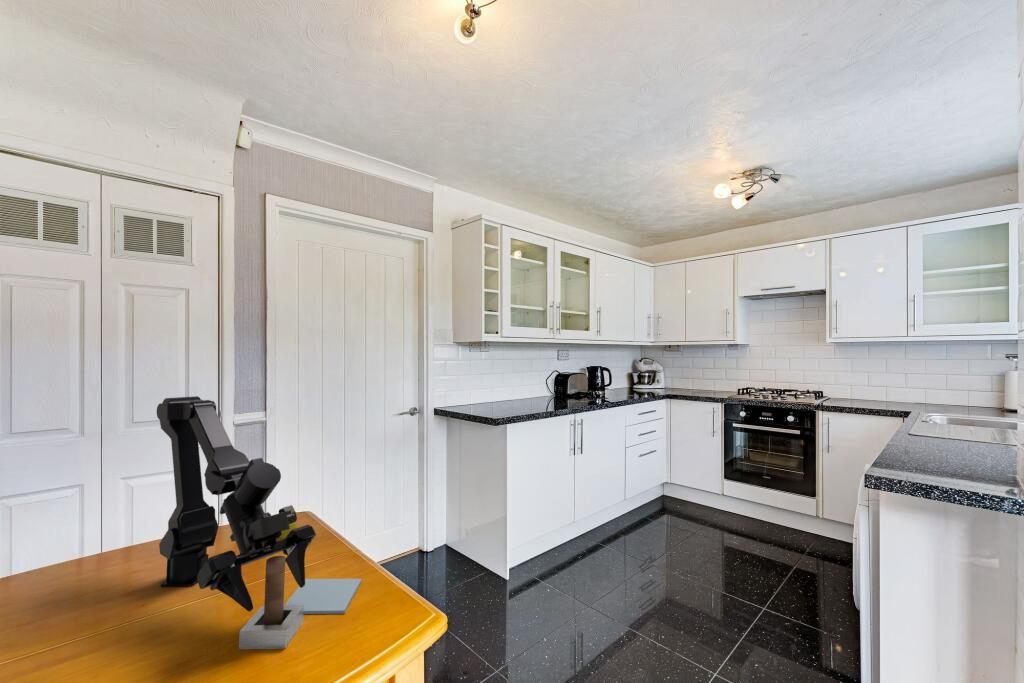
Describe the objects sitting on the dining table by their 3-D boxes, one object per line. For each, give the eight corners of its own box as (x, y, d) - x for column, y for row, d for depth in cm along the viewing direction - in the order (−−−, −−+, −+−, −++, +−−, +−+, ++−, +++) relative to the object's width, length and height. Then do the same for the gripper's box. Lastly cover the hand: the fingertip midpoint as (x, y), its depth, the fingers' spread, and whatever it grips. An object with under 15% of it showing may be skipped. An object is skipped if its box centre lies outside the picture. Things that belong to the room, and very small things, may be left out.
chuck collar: (238, 649, 74) (239, 630, 74) (261, 622, 82) (262, 605, 82) (285, 648, 74) (286, 630, 75) (303, 621, 82) (304, 605, 82)
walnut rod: (259, 640, 76) (262, 563, 77) (268, 629, 79) (271, 555, 80) (277, 640, 77) (280, 563, 77) (285, 629, 80) (288, 555, 80)
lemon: (300, 536, 119) (302, 506, 119) (288, 545, 114) (289, 513, 114) (281, 535, 120) (282, 505, 120) (268, 544, 114) (269, 512, 114)
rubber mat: (279, 614, 84) (279, 611, 84) (305, 581, 96) (305, 579, 96) (344, 613, 85) (344, 610, 85) (361, 581, 97) (361, 578, 97)
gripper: (208, 509, 73) (240, 598, 67) (312, 483, 89) (346, 553, 83) (184, 545, 77) (212, 633, 71) (288, 514, 93) (318, 584, 86)
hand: (278, 597), depth 78 cm, fingers open, 9 cm apart
